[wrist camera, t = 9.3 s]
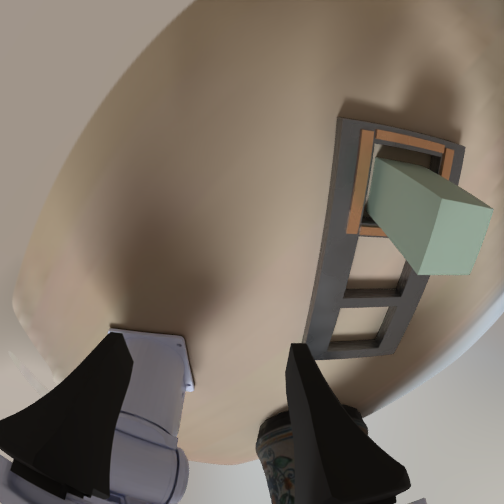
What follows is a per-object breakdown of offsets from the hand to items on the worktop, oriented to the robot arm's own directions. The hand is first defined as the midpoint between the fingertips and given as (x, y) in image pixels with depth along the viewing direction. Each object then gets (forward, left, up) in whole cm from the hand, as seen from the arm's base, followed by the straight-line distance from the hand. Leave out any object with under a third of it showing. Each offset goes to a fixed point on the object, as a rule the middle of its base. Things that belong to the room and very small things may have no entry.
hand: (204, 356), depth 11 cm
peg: (+5, -12, -10) cm, 17 cm away
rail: (-2, -12, -10) cm, 16 cm away
